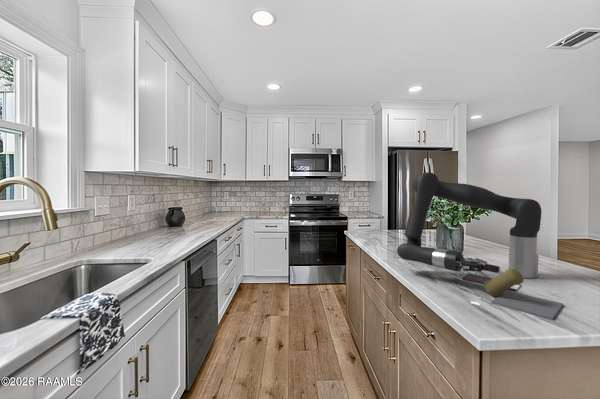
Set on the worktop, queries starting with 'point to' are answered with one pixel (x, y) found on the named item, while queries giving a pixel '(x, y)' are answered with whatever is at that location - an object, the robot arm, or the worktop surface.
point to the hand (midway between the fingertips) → (498, 269)
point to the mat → (528, 304)
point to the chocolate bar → (481, 280)
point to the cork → (503, 282)
